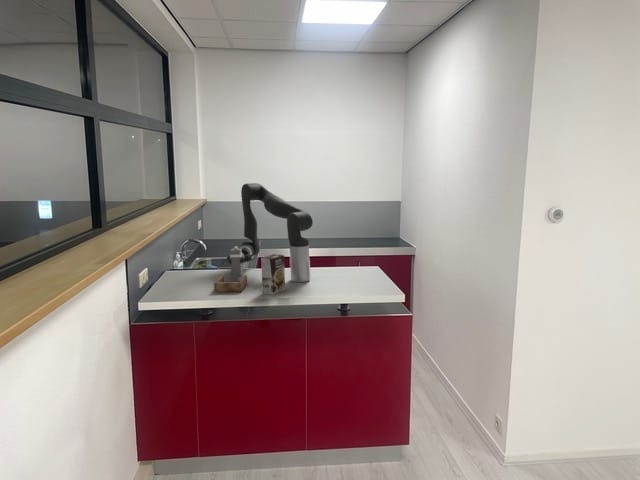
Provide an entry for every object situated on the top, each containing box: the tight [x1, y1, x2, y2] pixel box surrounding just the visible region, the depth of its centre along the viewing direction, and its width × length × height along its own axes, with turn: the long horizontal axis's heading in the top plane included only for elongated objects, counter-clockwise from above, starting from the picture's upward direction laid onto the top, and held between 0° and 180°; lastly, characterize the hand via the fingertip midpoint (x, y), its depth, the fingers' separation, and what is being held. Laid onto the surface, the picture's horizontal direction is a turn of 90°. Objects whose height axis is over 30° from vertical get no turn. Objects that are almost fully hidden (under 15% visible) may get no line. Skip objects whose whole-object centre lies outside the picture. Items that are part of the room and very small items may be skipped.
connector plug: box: [229, 246, 244, 278], centre depth 217 cm, size 5×5×14 cm
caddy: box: [213, 275, 248, 294], centre depth 205 cm, size 12×13×4 cm
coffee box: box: [260, 253, 286, 296], centre depth 198 cm, size 9×6×16 cm
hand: (235, 261), depth 214 cm, fingers closed on connector plug, 4 cm apart
